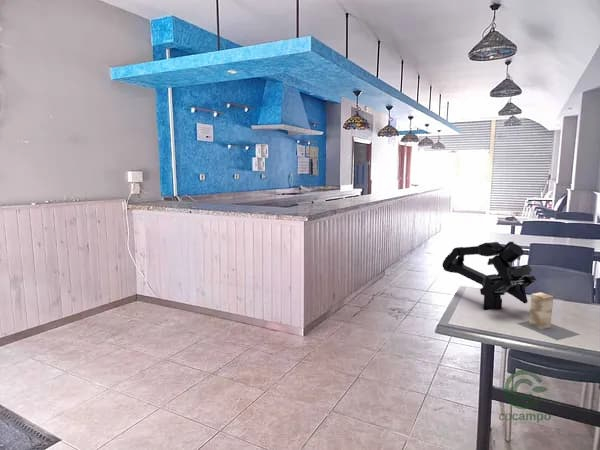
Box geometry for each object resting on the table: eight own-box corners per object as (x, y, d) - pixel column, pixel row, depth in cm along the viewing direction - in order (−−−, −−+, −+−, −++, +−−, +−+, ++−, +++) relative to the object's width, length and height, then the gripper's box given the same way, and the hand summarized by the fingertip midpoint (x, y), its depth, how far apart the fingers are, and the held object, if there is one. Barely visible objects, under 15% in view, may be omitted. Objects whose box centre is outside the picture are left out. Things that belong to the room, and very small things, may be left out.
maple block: (528, 324, 150) (531, 294, 148) (538, 322, 152) (540, 292, 150) (541, 329, 145) (543, 298, 143) (550, 327, 147) (553, 296, 145)
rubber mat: (516, 324, 151) (516, 323, 151) (538, 320, 155) (538, 318, 155) (557, 341, 136) (557, 340, 136) (579, 335, 141) (580, 334, 140)
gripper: (500, 260, 152) (523, 296, 143) (534, 255, 159) (558, 290, 150) (482, 274, 160) (503, 309, 152) (515, 270, 167) (537, 303, 159)
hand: (526, 302), depth 153 cm, fingers closed
